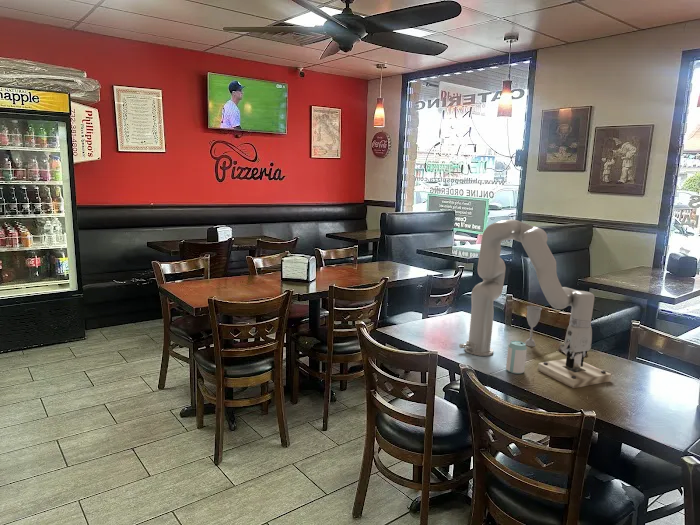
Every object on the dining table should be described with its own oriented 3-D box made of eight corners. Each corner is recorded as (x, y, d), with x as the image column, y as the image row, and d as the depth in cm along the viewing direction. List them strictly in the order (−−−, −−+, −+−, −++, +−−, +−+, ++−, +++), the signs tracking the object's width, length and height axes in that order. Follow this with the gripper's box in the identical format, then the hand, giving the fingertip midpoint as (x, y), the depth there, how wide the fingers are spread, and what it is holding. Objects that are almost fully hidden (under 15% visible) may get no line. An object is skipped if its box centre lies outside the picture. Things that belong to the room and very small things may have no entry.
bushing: (573, 373, 191) (576, 354, 190) (564, 369, 196) (567, 350, 194) (582, 372, 193) (585, 353, 192) (572, 368, 197) (575, 349, 196)
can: (511, 366, 201) (514, 338, 199) (527, 371, 196) (530, 343, 194) (502, 370, 196) (505, 342, 194) (519, 376, 192) (522, 347, 189)
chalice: (539, 347, 226) (544, 310, 222) (525, 346, 226) (529, 309, 222) (534, 342, 233) (538, 306, 229) (520, 341, 233) (524, 305, 230)
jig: (573, 388, 183) (574, 379, 182) (537, 369, 199) (538, 361, 198) (610, 381, 191) (611, 372, 190) (572, 364, 207) (574, 356, 206)
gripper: (572, 327, 184) (566, 372, 187) (603, 323, 191) (597, 367, 194) (556, 321, 191) (551, 365, 194) (587, 318, 197) (581, 360, 201)
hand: (574, 365), depth 194 cm, fingers closed on bushing, 4 cm apart
